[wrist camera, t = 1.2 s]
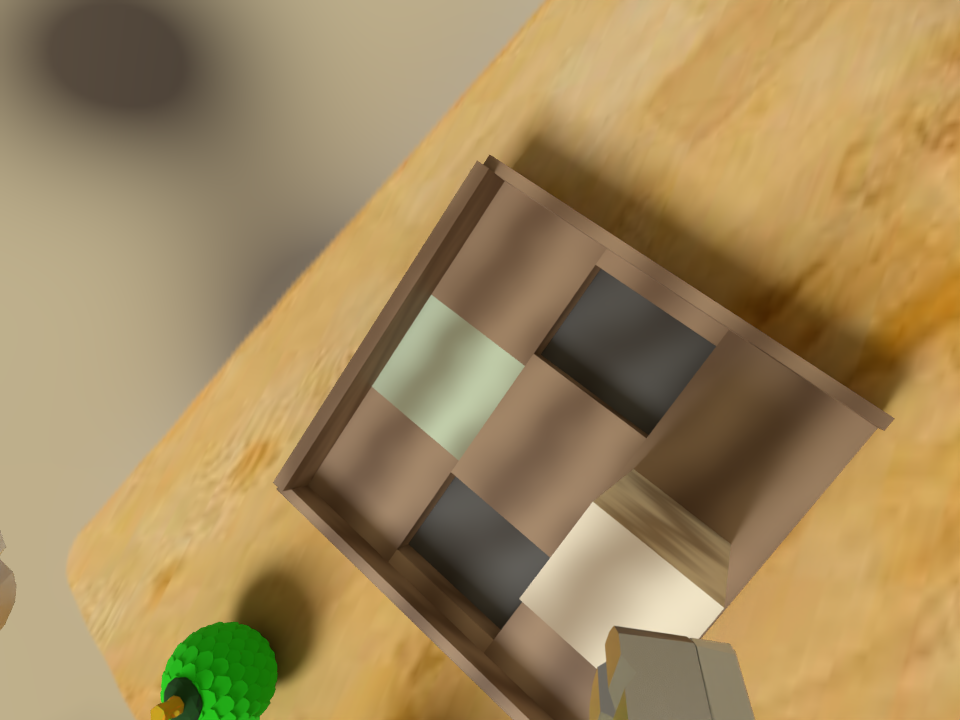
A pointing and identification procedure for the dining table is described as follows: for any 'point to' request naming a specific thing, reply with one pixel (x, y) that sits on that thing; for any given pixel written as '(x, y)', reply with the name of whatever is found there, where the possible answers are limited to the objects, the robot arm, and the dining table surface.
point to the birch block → (632, 570)
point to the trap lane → (552, 428)
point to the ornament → (218, 676)
